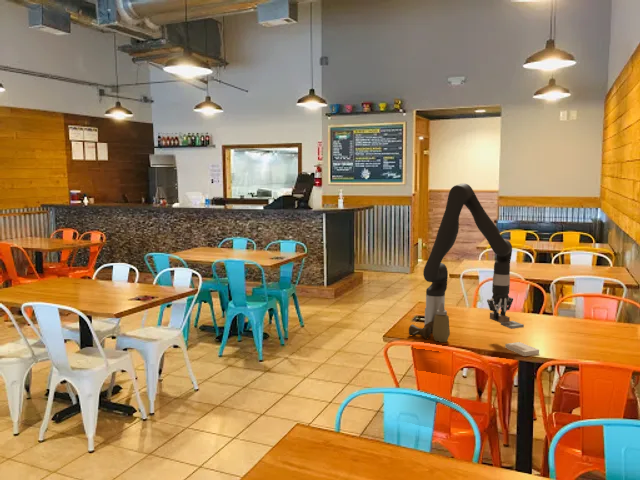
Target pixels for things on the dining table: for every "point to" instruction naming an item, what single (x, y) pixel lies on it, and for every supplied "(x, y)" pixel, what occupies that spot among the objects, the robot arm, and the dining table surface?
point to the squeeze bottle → (441, 325)
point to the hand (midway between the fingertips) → (499, 319)
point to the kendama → (422, 330)
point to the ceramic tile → (522, 349)
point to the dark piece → (506, 321)
